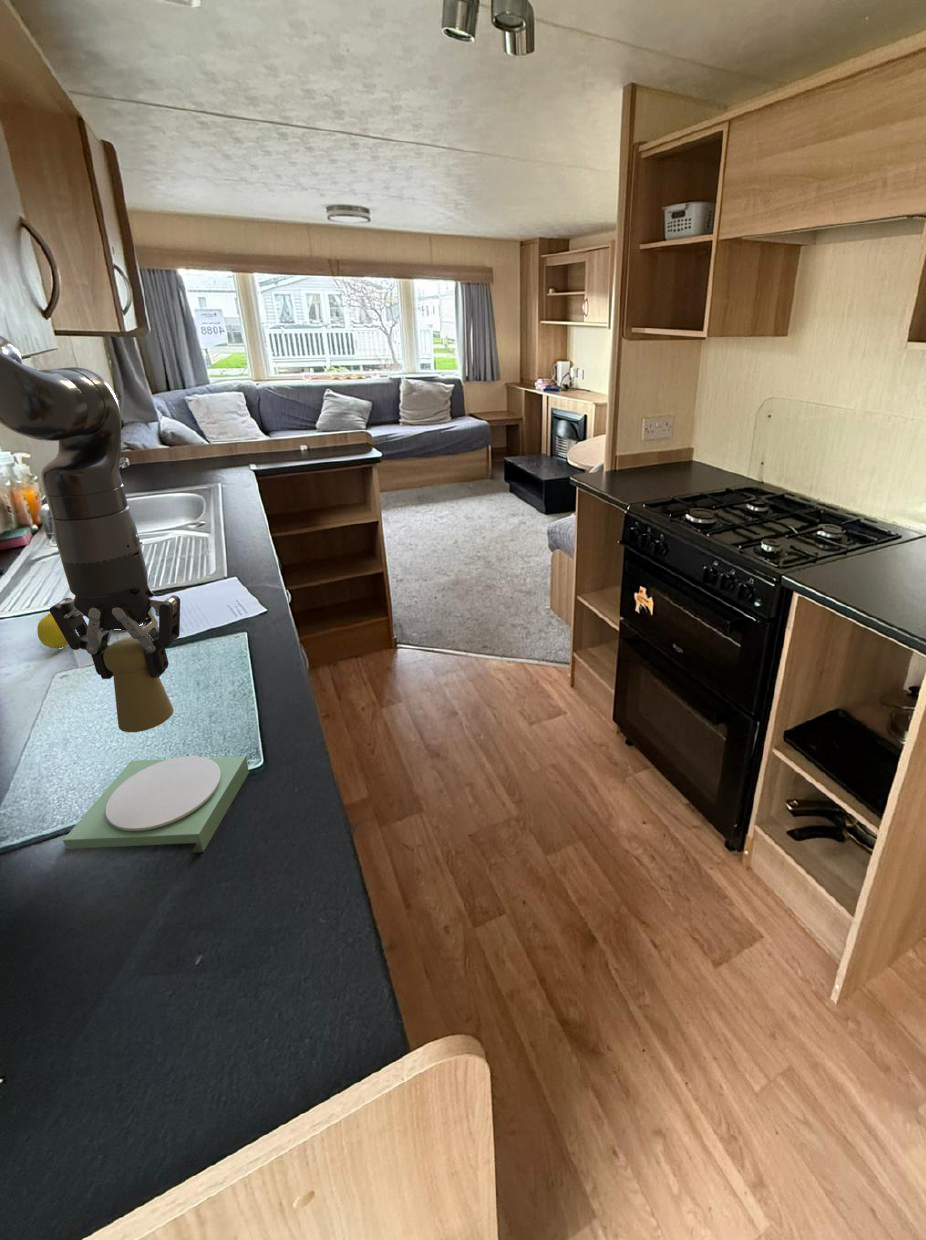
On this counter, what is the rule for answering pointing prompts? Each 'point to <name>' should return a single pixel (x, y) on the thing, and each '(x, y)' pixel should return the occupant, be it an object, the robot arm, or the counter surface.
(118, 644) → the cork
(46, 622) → the lemon
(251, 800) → the counter surface
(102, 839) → the scale
